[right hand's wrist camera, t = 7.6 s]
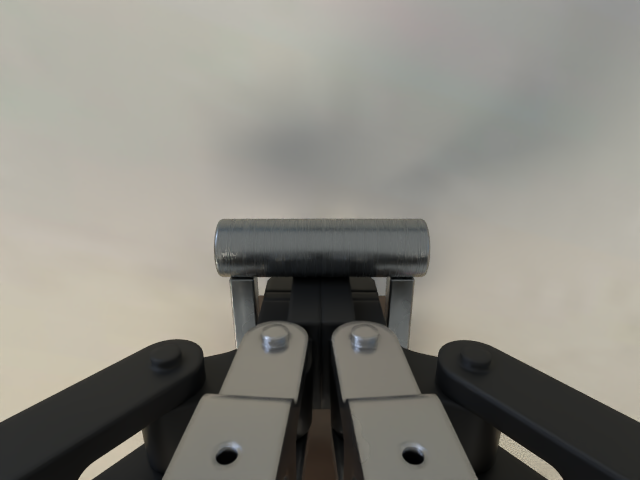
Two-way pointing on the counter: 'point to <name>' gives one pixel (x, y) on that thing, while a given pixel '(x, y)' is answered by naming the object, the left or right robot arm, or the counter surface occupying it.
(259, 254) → the drawer
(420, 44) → the counter surface
